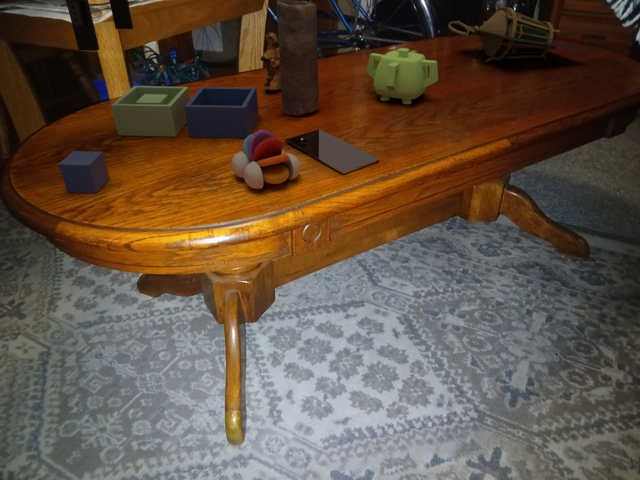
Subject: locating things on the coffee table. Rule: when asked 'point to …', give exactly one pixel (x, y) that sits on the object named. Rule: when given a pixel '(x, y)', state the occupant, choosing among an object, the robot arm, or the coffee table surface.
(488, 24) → the lantern
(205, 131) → the blue bin
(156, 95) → the green block
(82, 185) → the blue block
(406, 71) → the green lidded pot
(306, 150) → the smartphone
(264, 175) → the rainbow puzzle ball
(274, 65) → the figurine
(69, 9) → the robot arm
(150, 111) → the green bin
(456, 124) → the coffee table surface
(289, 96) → the candle
